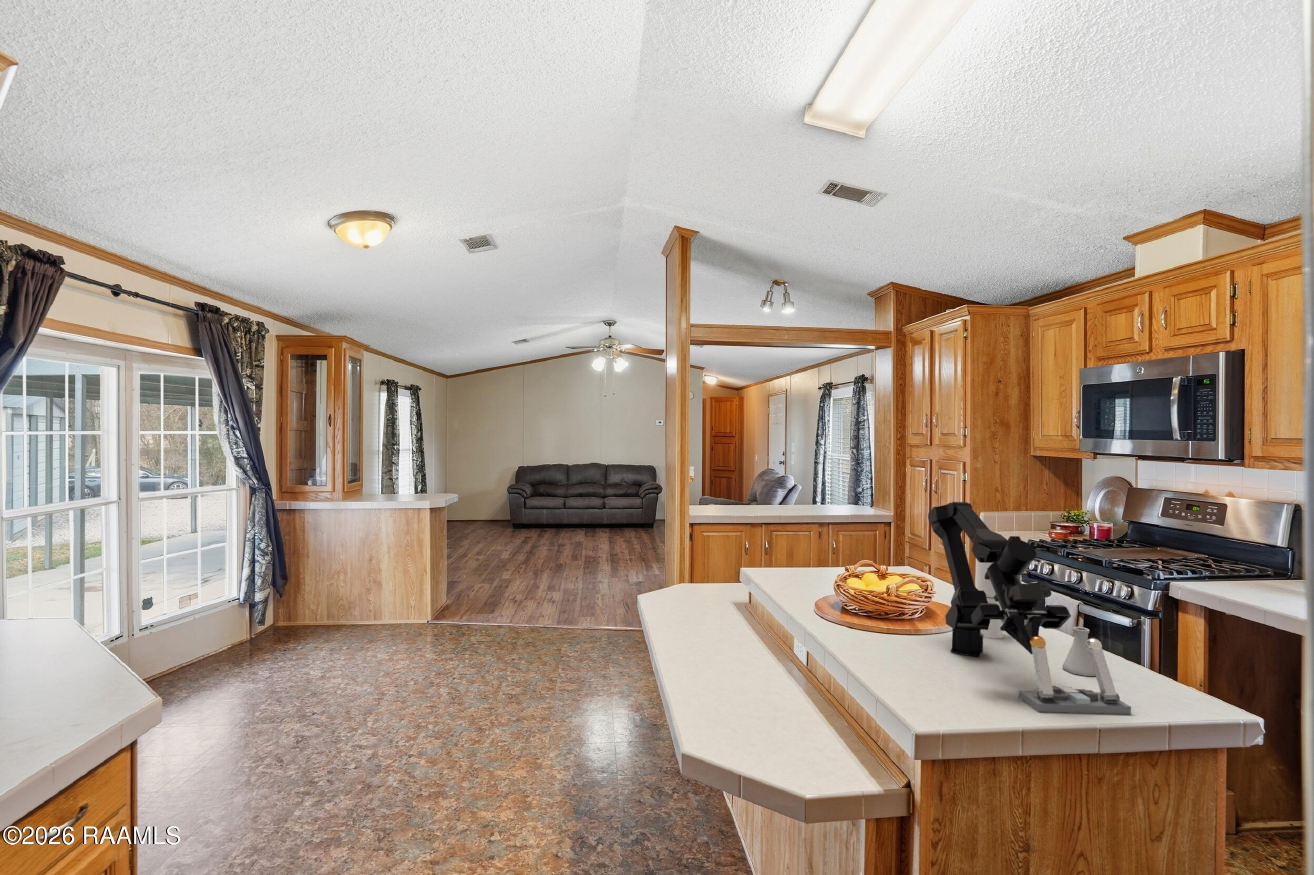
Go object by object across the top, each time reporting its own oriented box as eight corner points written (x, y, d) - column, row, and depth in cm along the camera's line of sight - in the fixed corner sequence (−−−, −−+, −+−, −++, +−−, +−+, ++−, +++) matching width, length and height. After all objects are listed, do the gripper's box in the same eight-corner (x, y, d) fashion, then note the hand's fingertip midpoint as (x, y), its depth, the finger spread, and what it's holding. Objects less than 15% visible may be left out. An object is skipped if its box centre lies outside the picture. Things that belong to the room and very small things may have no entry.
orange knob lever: (1036, 699, 128) (1025, 635, 132) (1050, 699, 128) (1039, 635, 132) (1044, 699, 126) (1033, 634, 130) (1058, 700, 126) (1047, 635, 130)
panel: (1018, 697, 132) (1018, 683, 132) (1106, 699, 132) (1106, 685, 132) (1038, 711, 125) (1038, 697, 125) (1130, 714, 125) (1131, 699, 125)
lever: (1099, 702, 128) (1080, 639, 134) (1113, 702, 128) (1094, 640, 134) (1108, 700, 125) (1088, 636, 132) (1122, 700, 125) (1102, 637, 132)
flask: (1105, 678, 144) (1106, 634, 144) (1069, 675, 146) (1070, 631, 146) (1090, 667, 151) (1091, 625, 151) (1056, 664, 153) (1057, 622, 153)
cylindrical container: (1004, 633, 177) (1006, 543, 177) (1002, 640, 171) (1004, 546, 171) (975, 629, 181) (977, 540, 181) (972, 635, 175) (974, 543, 175)
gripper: (979, 565, 137) (1005, 633, 126) (1066, 567, 136) (1100, 636, 125) (960, 593, 144) (983, 659, 134) (1043, 595, 144) (1073, 661, 133)
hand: (1035, 653), depth 131 cm, fingers closed, pressing on orange knob lever
